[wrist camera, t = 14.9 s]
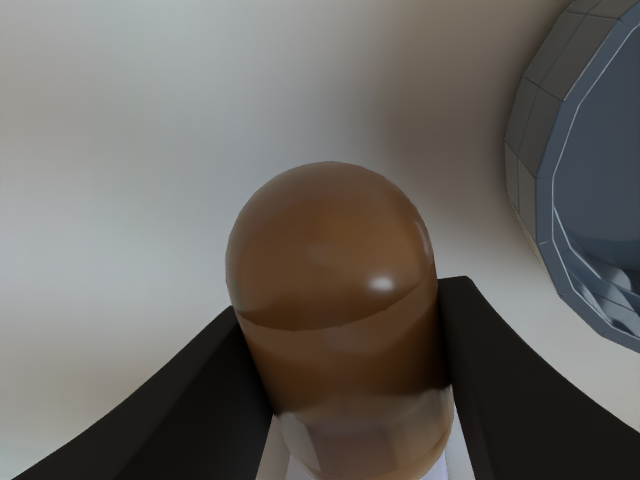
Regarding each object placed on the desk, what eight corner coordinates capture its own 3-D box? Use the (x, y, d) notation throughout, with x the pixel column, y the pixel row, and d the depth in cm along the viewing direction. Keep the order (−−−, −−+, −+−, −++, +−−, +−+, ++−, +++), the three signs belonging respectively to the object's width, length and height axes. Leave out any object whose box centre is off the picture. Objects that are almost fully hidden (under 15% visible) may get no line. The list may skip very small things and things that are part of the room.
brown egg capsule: (451, 390, 13) (476, 538, 10) (311, 401, 14) (287, 541, 10) (412, 119, 10) (428, 193, 6) (231, 154, 11) (155, 238, 7)
